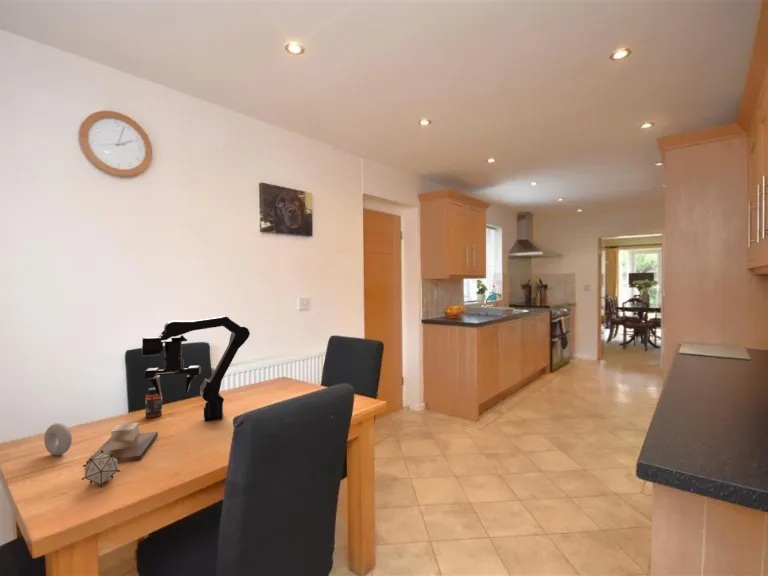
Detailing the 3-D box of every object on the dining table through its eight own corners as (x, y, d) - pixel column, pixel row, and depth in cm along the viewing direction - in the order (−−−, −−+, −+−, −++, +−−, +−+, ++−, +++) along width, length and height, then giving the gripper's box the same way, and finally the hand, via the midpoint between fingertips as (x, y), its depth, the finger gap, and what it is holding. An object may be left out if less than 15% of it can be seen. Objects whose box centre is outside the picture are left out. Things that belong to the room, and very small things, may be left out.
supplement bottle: (165, 413, 159) (165, 386, 159) (155, 418, 153) (155, 390, 153) (152, 413, 160) (152, 386, 159) (141, 417, 154) (141, 390, 154)
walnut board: (157, 435, 136) (157, 431, 136) (140, 460, 116) (140, 455, 116) (111, 440, 131) (111, 436, 131) (86, 466, 112) (86, 461, 112)
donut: (74, 454, 120) (74, 423, 120) (62, 459, 117) (62, 427, 117) (53, 450, 123) (53, 419, 123) (41, 454, 120) (41, 423, 120)
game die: (98, 494, 104) (99, 457, 109) (128, 482, 105) (128, 445, 110) (71, 493, 97) (73, 453, 101) (104, 480, 97) (105, 441, 102)
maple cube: (138, 440, 128) (138, 422, 128) (133, 447, 122) (133, 429, 122) (118, 442, 126) (118, 424, 126) (111, 450, 120) (111, 431, 120)
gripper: (202, 349, 156) (203, 386, 156) (151, 351, 150) (151, 390, 151) (198, 353, 146) (198, 394, 146) (143, 356, 140) (143, 398, 140)
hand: (173, 394), depth 146 cm, fingers open, 9 cm apart
